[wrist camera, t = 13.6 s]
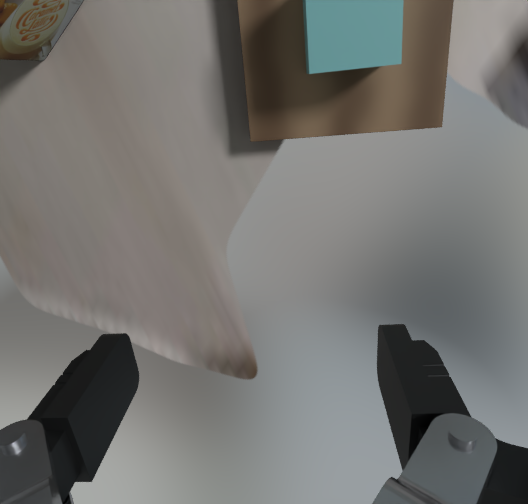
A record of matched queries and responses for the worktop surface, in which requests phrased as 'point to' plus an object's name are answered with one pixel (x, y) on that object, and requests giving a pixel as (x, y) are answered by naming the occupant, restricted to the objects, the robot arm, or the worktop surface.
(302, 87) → the walnut stand
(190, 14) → the worktop surface
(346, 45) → the teal cube
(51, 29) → the coffee box
